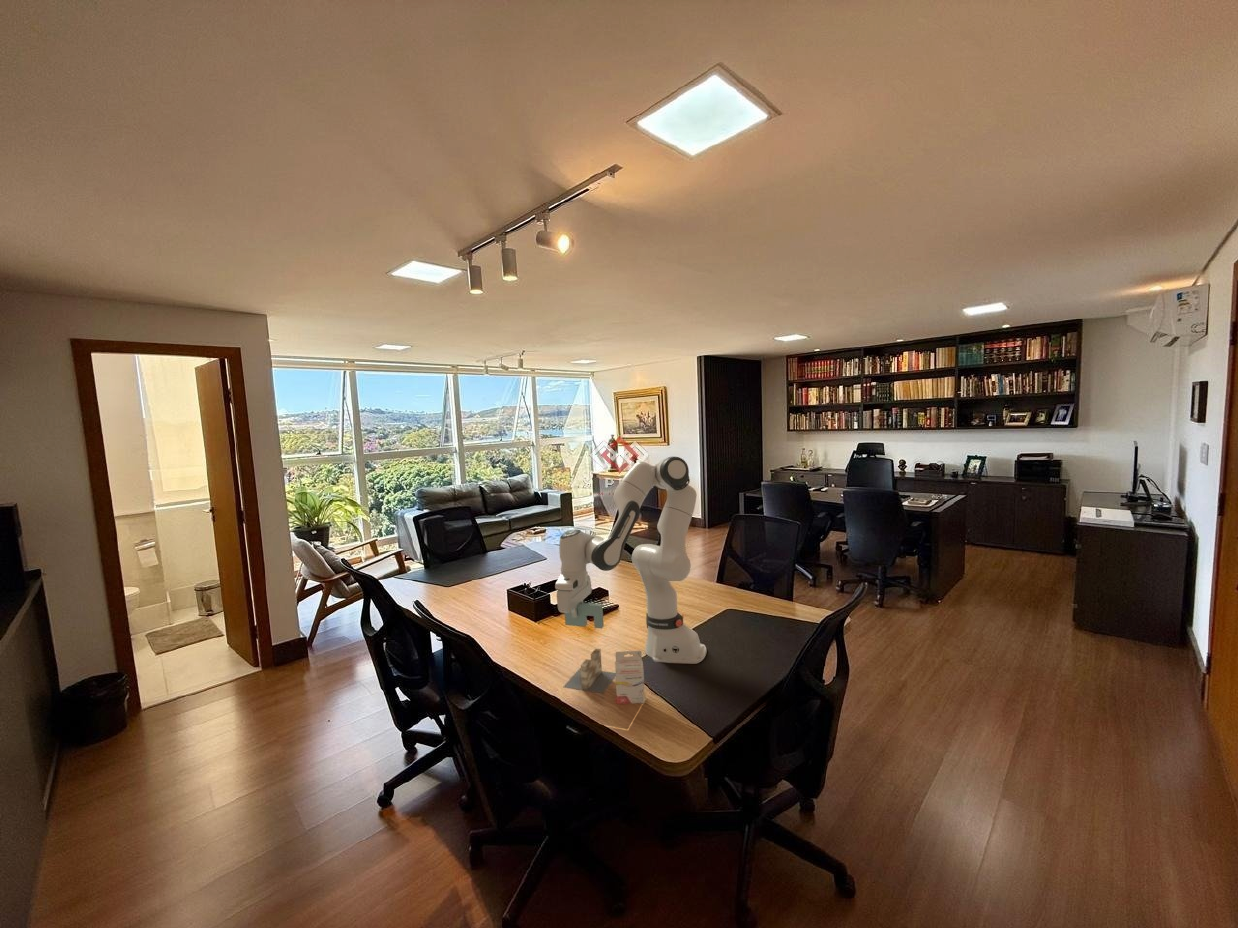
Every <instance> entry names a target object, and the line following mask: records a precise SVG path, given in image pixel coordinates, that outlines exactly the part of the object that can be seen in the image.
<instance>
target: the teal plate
mask: <svg viewBox="0 0 1238 928" xmlns="http://www.w3.org/2000/svg"><path fill="white" fill-rule="evenodd" d="M576 611H578V616H577V617H576V618H573V617H572V613H571V611H570V612H569V613H563V615H564V624H565V626H571V627H583V628H586V627H587V626H588V618H587V617H588V616H589V617H593V623H594V629H603V628H604V625H605V624H604V612H603V603H595V602H583V603H582V602H580V603H579V604H578V605H577V608H576Z"/></svg>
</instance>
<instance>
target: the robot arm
mask: <svg viewBox="0 0 1238 928" xmlns="http://www.w3.org/2000/svg"><path fill="white" fill-rule="evenodd" d="M689 473H690V471H689V465H688V463H687V462H686V460H684V459H683V458H681V457H679V456H669V457H666V458H664V459H662V460H660V461H659V462H658V463H656V464H655V465H651V464H650V463H648V462H646V461H637V462H635V463H634V464H633V465H632V466H630V468H629V469H628V470H627V472H626V473H625V474H624V476H622V477H621V478H622V479H621V480H620V481H619V483H618V484H617V486H616V488H615V489H614V490H615V491H614V493H613V497H612V498H613V502H614V504H615V506H616V509H618V516H617V520H616V522H615V523H614V525H613V527H612V529H611V531H610V533H609V535H608V536H607V537H606V538H604V537H601V536H599V535H596V534H589V533H587V532H584V531H582V530H580V529H578V528H577V529H571V530H567V531H565V532H563V533H562V534H561V536H560V539H559V544H558V545H559V546H558V547H559V559H560V563H561V564H560V566H561V567H560V574H559V577H558V578H557V580H556V582H555V583H554V584H555V585H554V588H555V590H557V591H556V603H557V609H558V612H560V613H563V614H564V613H569V612H570V611H571V613H572V617H573V618H576V617H577V616H578V611H576V608H577V605H578V604H579V603H580V602H582V603H584V600H585V599H586V598H587V597H588V596H590V595H591V594H592V590H593V588H592V582H591V577H590V575H589V572H588V571H587V565H589V564H592V565H594V566H595V567H596V568H598V569H599V570H601V571H603V572H607V571H612V570H614V569H615V568H616V567H617V566H618V565H619V564H620V562H621V560H622V557H623V553H624V549H625V546H626V543H627V541H628V539H629V537H630V535H631V533H632V531H633V529H634V527H635V525H636V522H637V520H638V518H639V515H640V512H641V507H642V504H643V503H644V501H645V499H646V498H647V496H648V494H649V492H650V491H651V490H652V488H653V489H654V488H655V489H658V490H659V491H666V500H665V503H664V505H663V508H662V510H661V514H660V517H659V519H658V522H657V525H656V526H657V527H656V528H657V531H658V533H659V534H660V545H657V544H652V543H644V544H643V543H641V544H639V545H637V546H636V547H635V548H634V550H633V551H632V554H631V562H632V565H633V566H634V568H635V569H636V570H637V572H638V574H639V576H640V579H641V582H642V583H643V584H642V585H643V587H644V591H645V596H646V609H647V610H646V611H647V613H646V618H645V621H646V622H645V624H646V628H647V632H646V633H647V635H646V636H647V637H646V643H645V647H644V653H645V654H646V655H647V656H648V657H650V658H651V659H652V660H653V661H654V662H655V663H665V664H689V665H691V664H692V665H693V664H694V665H695V664H699V663H700V662H702V661H703V660H704V659H705V658H706V655H707V647H706V646H707V645H705V644H704V643H701V641H700V637H699V635H698V633H697V632H696V631H695V630H693V629H692V628H691V627H689V626H688V625H687V624H685V623H684V617H685V615H684V613H682V614H680V613H679V612H678V596H677V591H676V588H674V586H673V585H672V584H671V582H682V581H685V580H686V578H688V576H689V574H690V572H691V565H692V564H691V560H690V558H689V556H688V555H687V550H686V540H687V539H686V537H687V534H688V531H689V527H690V524H691V521H692V517H693V515H694V512H695V507H696V502H697V491H696V489H695V488H694V487H692V486H691V485H690V480H691V479H690V476H689V475H690V474H689Z"/></svg>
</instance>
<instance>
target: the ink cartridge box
mask: <svg viewBox="0 0 1238 928" xmlns="http://www.w3.org/2000/svg"><path fill="white" fill-rule="evenodd" d="M627 655H630V656H627ZM631 655H632V656H631ZM614 664H615V665H614V666H615V667H614V668H615V673H616V676H615V687H616V688H615V692H616V695H615V696H616V704H617V705H626V704H627V705H629V704H640V703H641V705H644V704H646V699H645V698H646V696H645V675H644V673H645V672H644V669H645V668H644V662H643V659H642V650H631V651H630V650H629V651H627V650H626V651H615V662H614Z"/></svg>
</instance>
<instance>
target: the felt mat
mask: <svg viewBox="0 0 1238 928" xmlns="http://www.w3.org/2000/svg"><path fill="white" fill-rule="evenodd" d="M614 679H616V672H611V671H605V670H602V672H601V673H600V675H599V676H598V677H597V678H596V680H595V681H594V682H593V683H592V685H591V686H590V687H589V688H588V690H583V689H582V679H581V667H580V668H578V670H577V671H576V672H574V674H573V675H572V676H571V677H570V679H569V680H568V681H567V682H566V683H565V684H564V685H563V688H566V689H571V690H578V691H584V692H590V693H597V694H603V695H604V693H605V692H606V690H607V689H608V688H609V686H610V684H611V683H612V682H613V681H614Z"/></svg>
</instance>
